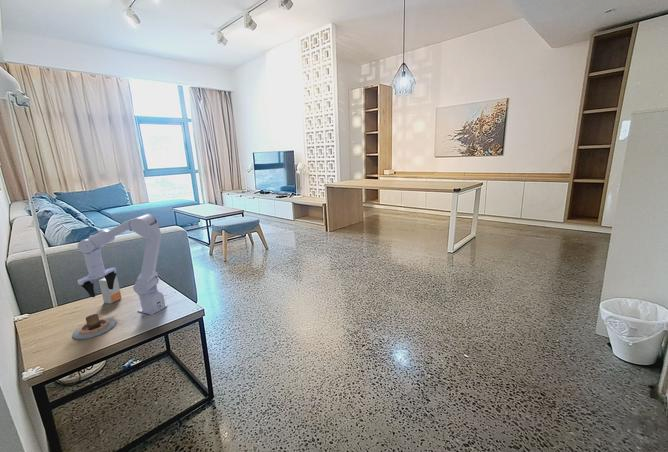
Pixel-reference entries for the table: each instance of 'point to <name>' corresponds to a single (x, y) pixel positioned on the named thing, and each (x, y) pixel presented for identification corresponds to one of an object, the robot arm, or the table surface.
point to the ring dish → (86, 334)
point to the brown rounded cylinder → (93, 322)
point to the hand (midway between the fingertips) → (102, 292)
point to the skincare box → (110, 291)
